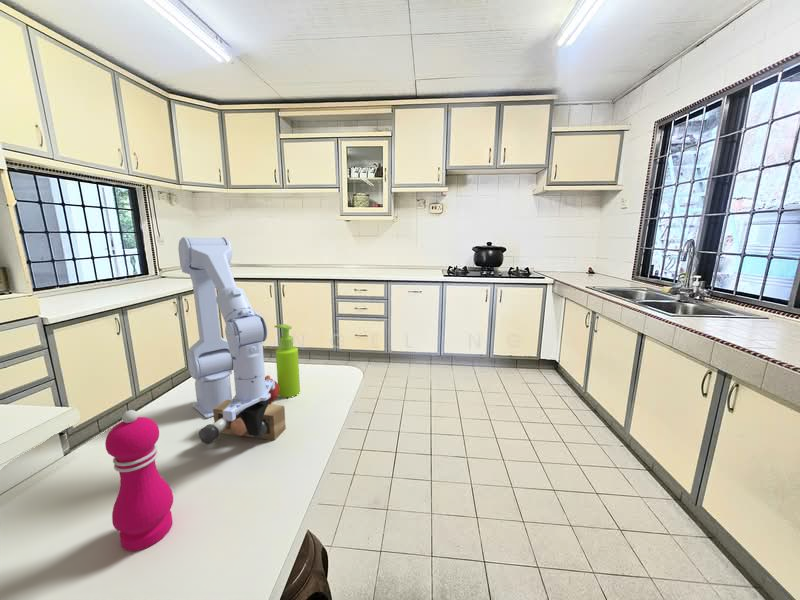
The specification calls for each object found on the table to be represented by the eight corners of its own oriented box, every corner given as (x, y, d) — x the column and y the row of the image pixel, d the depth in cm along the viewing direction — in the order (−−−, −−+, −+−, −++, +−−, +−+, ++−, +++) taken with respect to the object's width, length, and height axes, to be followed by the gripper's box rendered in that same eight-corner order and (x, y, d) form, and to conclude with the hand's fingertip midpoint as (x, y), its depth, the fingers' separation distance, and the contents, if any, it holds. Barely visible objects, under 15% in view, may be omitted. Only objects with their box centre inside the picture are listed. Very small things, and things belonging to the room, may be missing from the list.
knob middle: (231, 434, 73) (229, 419, 73) (249, 419, 79) (247, 405, 79) (246, 436, 73) (244, 421, 72) (262, 421, 79) (261, 407, 78)
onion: (272, 410, 86) (270, 381, 85) (252, 408, 87) (250, 379, 86) (284, 399, 92) (282, 372, 90) (265, 397, 93) (263, 370, 92)
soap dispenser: (289, 386, 101) (285, 321, 97) (304, 392, 97) (301, 325, 93) (272, 393, 96) (267, 325, 92) (286, 400, 92) (282, 329, 88)
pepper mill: (138, 514, 54) (120, 399, 50) (186, 511, 54) (171, 397, 51) (103, 556, 47) (79, 426, 43) (158, 553, 47) (138, 423, 44)
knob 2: (250, 436, 73) (248, 421, 72) (266, 421, 79) (265, 407, 78) (265, 438, 72) (264, 423, 71) (280, 423, 78) (279, 409, 77)
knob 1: (199, 443, 70) (197, 427, 70) (220, 426, 76) (219, 412, 76) (214, 445, 70) (212, 429, 69) (234, 428, 76) (233, 414, 75)
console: (215, 432, 76) (213, 408, 75) (228, 421, 81) (226, 399, 80) (275, 440, 74) (273, 415, 73) (285, 428, 78) (284, 405, 77)
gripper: (244, 391, 61) (249, 458, 63) (285, 362, 75) (289, 418, 77) (210, 387, 62) (217, 453, 65) (257, 360, 76) (261, 415, 79)
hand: (254, 434), depth 71 cm, fingers closed
